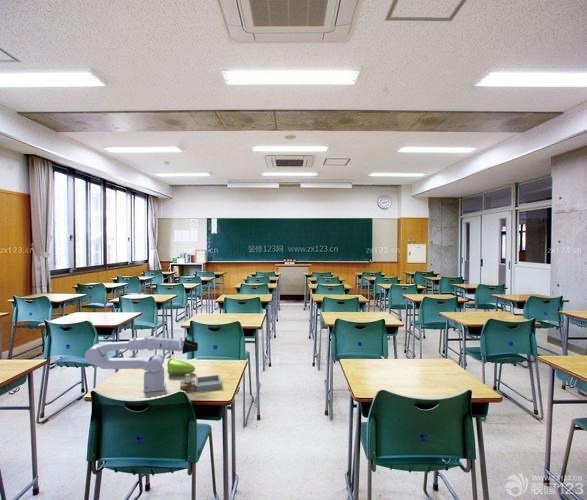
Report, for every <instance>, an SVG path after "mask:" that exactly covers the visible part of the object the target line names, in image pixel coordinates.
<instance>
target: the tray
mask: <svg viewBox="0 0 587 500" xmlns="http://www.w3.org/2000/svg"><path fill="white" fill-rule="evenodd" d="M218 389H219V390H220V389H222V381H221V377H220V374H215V375H214V374H212V375H206V376H198V377H195V392H202V391H203V392H204V391H210V390H218Z"/></svg>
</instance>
